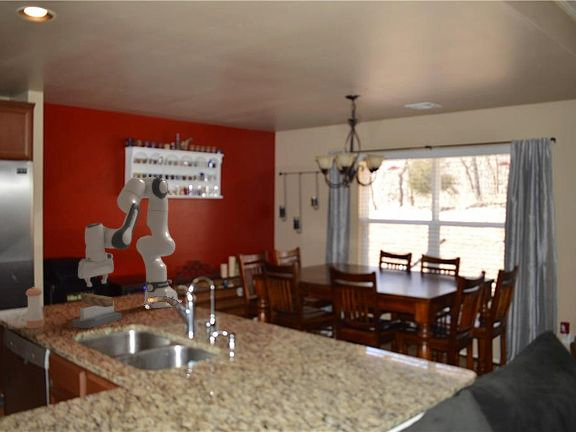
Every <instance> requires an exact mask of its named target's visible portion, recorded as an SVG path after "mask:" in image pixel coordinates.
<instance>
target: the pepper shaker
mask: <svg viewBox="0 0 576 432" xmlns="http://www.w3.org/2000/svg"><path fill="white" fill-rule="evenodd" d="M42 293H43V291H42V289H40V288H39V287H38V288H37V287H35V286H32V287H31V288H28V289H27V290H26V292H25V295H26V296H27V311H26V317H27V318H26V319H27V320H26V328H27V329H39V328H43V327H44V318H43V308H42V304H41V295H42Z"/></svg>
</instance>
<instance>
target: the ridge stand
mask: <svg viewBox="0 0 576 432" xmlns="http://www.w3.org/2000/svg"><path fill="white" fill-rule="evenodd" d="M114 302H115V301H114V300H113V306H110V307H101V306H96V305H87V306H84V307H80V308H79V318H78V319H74V320H72V328H77V327H79V329H86V328H88V329H89V328H90V329H93V328H95V327H99V326H103V325H106V324H109V323H111V322H112V323H113V322H115V321H119V320H122V318H123V317H122V312H116V311H115V303H114ZM92 327H93V328H92ZM88 329H87V330H88Z"/></svg>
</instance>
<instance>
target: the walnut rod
mask: <svg viewBox="0 0 576 432" xmlns="http://www.w3.org/2000/svg"><path fill="white" fill-rule="evenodd" d="M113 301H114V297H111V296H105V295H98V294H94V293H92V294H91V293H85V294H81V303H82V304H86V305H89V306H91V305H96V306H101V307H110V306H113Z"/></svg>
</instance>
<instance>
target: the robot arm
mask: <svg viewBox="0 0 576 432" xmlns="http://www.w3.org/2000/svg"><path fill="white" fill-rule="evenodd" d="M168 192H169V183H168V181H167V180H166V179H165V178H163V177H156V176H151V177H150V176H148V177H131V178H130V179H129V180H128V181H127V182H126V183H125V185H123V188H122V189H121V191H120V193H119V195H118V196H117V201H116V202H117V206H118V207H119V209H120V210H121V211H122V212H123V213H124V214H126V215H125V217H124V220H123V223H122V226H121V227H118V228H109V227H106V226H104V225H103V223H101V222H94V223H90V224H88V225H86V227H85V229H84V230H85V231H84V243H85V246H86V247H85V258H81V259H80V261H79V262H78V267H77V268H78V269H77V270H78V271H77V277H78V278H79V279H84V281H85V283H86V287H88V288H91V287H93V282H91V278H94V277H98V276H102V279H101V280H100V281H101V282H100V283H101V284H102V285H103V284H104V285H105V284H107V279H108V277H109V274H112V273H113V272H114V269H115V268H114V260H113V258H114V256H113V254H112V253H108V252H106V250H105V249H116V250H126V249H128V248H129V247H130V246H131V243H132V242H133V235H134V231H135V228H136V225H137V222H138V219H139V217H140V213H141V209H140V208H141V207H140V203H142V202H141V201H142V199H143V198H145V199H148V204H147V215H146V225H147V227H148V228H149V229H150V232H151V235H145V236H141V237H139V239H137V242H136V245H135V246H136V250H137V252H138V253H139V254H140V255H141V257H142V260H143V262H144V266H145V275H146V276H145V278H146V279H145V280H146V281H145V288H146V290H145V292H144V302H143V306H144V304H145V302H146V300H147V299H148V298H151V297H154V296H167V297H170V298H173V299H175V300H177V301H178V302H179V304H180V303H182V302H183V299H182V300H181V299H179V298H178V293H177V291H176V290H174V289H173V288H172V287H171V286H170V284H172V282H173V281H172V279H167V278H168V276H167V273H168V271H167V270H168V269H167V265H166V264H165V263H164V261H163V260H162V257H167V256H171V255H172V254H173V253H174V252H175V250H176V243H175V241H174V239H173V238H172V237H171V235H170V232H169V226H168V219H169V216H168V215H169V201H168V195H167V194H168ZM172 307H173V306H171V305H170V304H169V303H167V302H158V303H154V304H153V307H152V308H151V309H162V308H172Z"/></svg>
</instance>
